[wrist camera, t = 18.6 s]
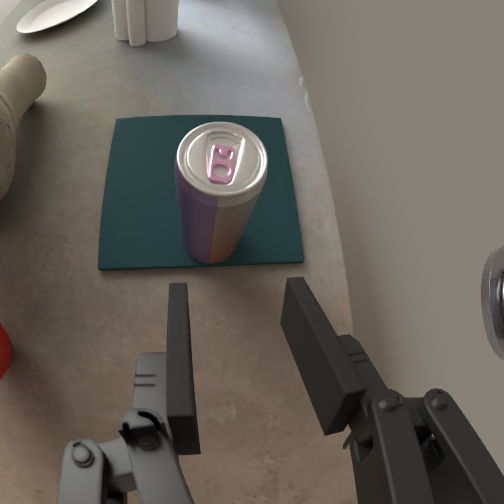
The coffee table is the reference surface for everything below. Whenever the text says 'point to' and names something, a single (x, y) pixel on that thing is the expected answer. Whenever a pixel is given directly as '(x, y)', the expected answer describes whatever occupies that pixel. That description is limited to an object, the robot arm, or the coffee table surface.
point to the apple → (4, 352)
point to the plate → (52, 14)
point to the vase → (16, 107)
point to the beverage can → (217, 187)
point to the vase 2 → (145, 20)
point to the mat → (165, 198)
